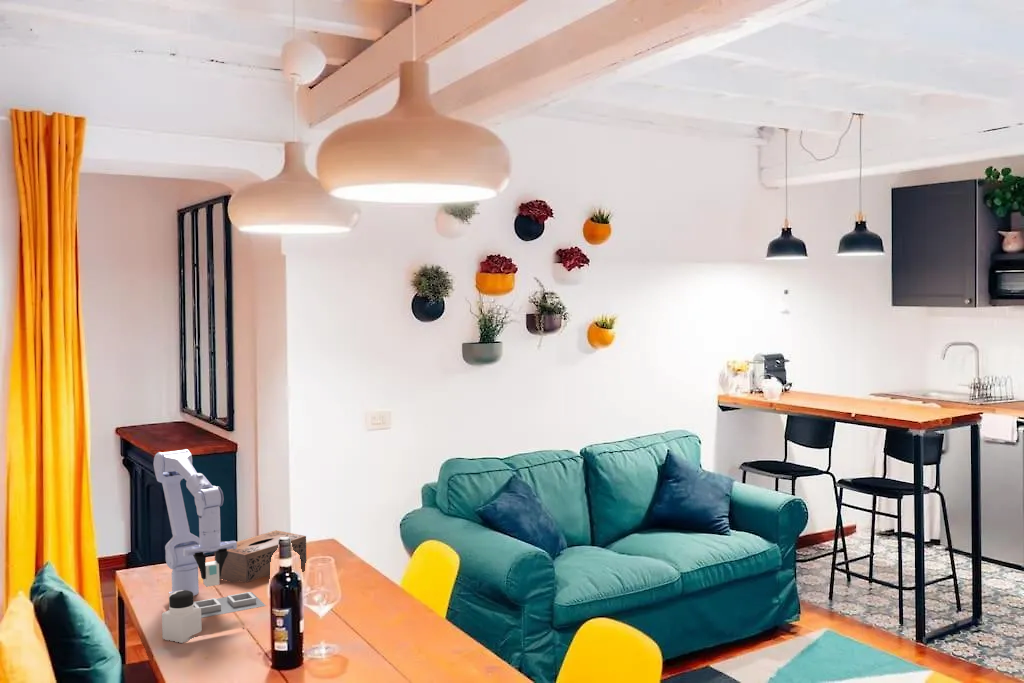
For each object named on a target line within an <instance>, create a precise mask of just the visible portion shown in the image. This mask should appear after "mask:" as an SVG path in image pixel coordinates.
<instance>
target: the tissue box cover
mask: <svg viewBox="0 0 1024 683" xmlns="http://www.w3.org/2000/svg"><path fill="white" fill-rule="evenodd" d="M280 537H289V538H290V539H291V543H292V547H293V550H294V551H295V552H297V553H298V554H299V555H300V559H301V567H304V566H306V565H305V563H306V561H307V559H308V558H307V535H304V534H303V535H302V534H297V533H293V532H292V533H291V532H286V531H282V530H276V529H275V530H273V531H270V532H266V533H262V534H259V535H255V536H253V537H249V538H244V539H241V540H237V541H236V542H237V549H227V551H228V555H227V557H226V559H225V561H224V564H223V567H222V571H221V576H220V577H219V580H220V579H223V580H222V581H224V580H227V581H226V582H228V581H230V582H229V583H237V582H241V583H248V582H252V581H255V580H257V579H261V578H265V577H270V576H269V575H270V562H271V557H272V555H273V553H274V552H275V551H276V550H277V548H278V540H279V538H280ZM214 561H216V554H215V553H214ZM307 562H308V561H307Z"/></svg>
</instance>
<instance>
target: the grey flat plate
mask: <svg viewBox="0 0 1024 683" xmlns="http://www.w3.org/2000/svg"><path fill="white" fill-rule="evenodd" d="M193 602H194V606H193V607H196V608H201V619H203V618H204V619H205V618H209V617H214V616H220V615H225V614H230V613H234V612H235V613H236V612H241V611H245V610H250V609H256V608H261V607H266V606H267V605H266V604H265V603H264V602H263V601H262V600H261V599H260V598H259V597H257V595H256V594H254V592H252V591H248V592H242V593H236V594H230V595H226V596H224V597H218V598H216V597H213V598H209V599H203V600H198V601H193Z"/></svg>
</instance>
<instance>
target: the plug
mask: <svg viewBox="0 0 1024 683" xmlns="http://www.w3.org/2000/svg"><path fill="white" fill-rule="evenodd" d="M205 573H206V579H202V582H203V585H204V586H205V587H206V588H209V587H212V586H213V587H215V586H219V585H220V579H219V563H217V562H216V561H215V560H211V561H205Z"/></svg>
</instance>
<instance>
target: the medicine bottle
mask: <svg viewBox="0 0 1024 683" xmlns="http://www.w3.org/2000/svg"><path fill="white" fill-rule="evenodd" d="M194 602H195V601H194V596H193V593H192V592H191V591H188V590H180V591H176V592H174V593H169V596H168V605H169V606H168V610H166V611H164V612H162V613H161V628H162V629H161V631H162V634H161V635H162V640H164V639H165V641H169V640H170V641H169V642H173V641H175V643H178V642H179V643H178V644H184V643H186V642H188V641H191V640H192V638H193V639H195V638H197V637H196V636H197V635H196V634H199V633H201V632H202V631H203V630H202V618H201V608H196V607H193V606H194ZM194 635H196V636H194ZM194 637H195V638H194ZM190 639H191V640H190ZM183 642H184V643H183Z"/></svg>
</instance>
